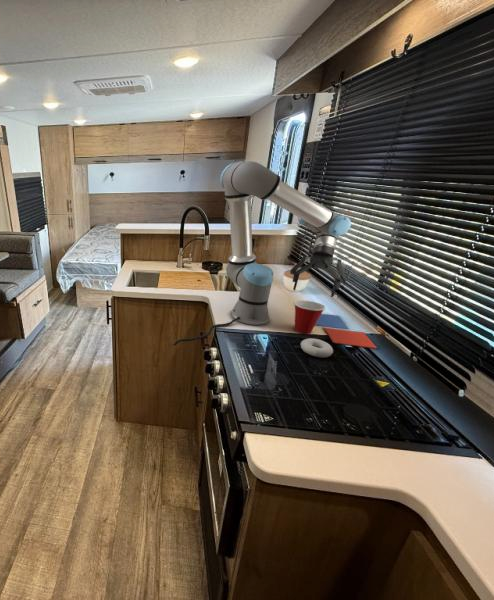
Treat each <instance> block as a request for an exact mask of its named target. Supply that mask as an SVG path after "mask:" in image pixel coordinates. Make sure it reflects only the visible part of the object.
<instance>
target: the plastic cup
mask: <svg viewBox="0 0 494 600" xmlns="http://www.w3.org/2000/svg"><path fill="white" fill-rule="evenodd" d="M293 305H294V330H295V331H296V332H297V333H299V334H301V335H309V334H311V333H312V331H313V329H314V328H315V326H316V325H315V324H316V322H317V320H318V318H319V316H320V315H321V314H323V312H324V311H325V310H326V306H325V305H324V304H323V303H319V302H316V301H312V300H303V299H302V300H294V302H293Z"/></svg>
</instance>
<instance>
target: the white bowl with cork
mask: <svg viewBox="0 0 494 600" xmlns="http://www.w3.org/2000/svg"><path fill="white" fill-rule="evenodd" d="M290 270H291V269H288V270H285V271H284V272H283V278H282V284H283V286H284V287H285V289H286V290H287V291H289V292H294V293H299V292H302V291H303V290H304V289H306V288H307V287H308V285H309V283H310V280H311V278H312V274H311V273H309V272H306V271H305V272H303V273H301V274H300V275H299V278H298V282H297V285H296V289H295V290H293V288H294V284H295V282H293V277H294V275H293V274H290ZM297 270H298V269H297ZM297 270H296V271H297Z"/></svg>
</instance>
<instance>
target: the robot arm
mask: <svg viewBox="0 0 494 600" xmlns="http://www.w3.org/2000/svg"><path fill="white" fill-rule="evenodd" d="M219 180H220V185H221V187H222V189H223V190H224V200H225V201H227V202H228V204H229V205H228V206H229V224H230V225H229V227H230V244H231V245H230V247H231V255H230V256H229V257H228V262H227V264H226V267H225V274H226V275H227V278H228V279H229V280H230V281H231V282H232V283H234V284H235V285H236V286H237V287H238V288H239V294H238V299H237V301H236V303H235V304H234V306H233V308H232V310H231V318H233V319H232V320H231V321H229V322H226V323H218V324H214V325H212V326H210V327H209V329H208V332H207V333H205V334H203V335H199V336H195V337H191V338H179V339H177V340H175V342H174V343H173V344H172V345H173V346H177V345H178V344H179V343H180V342H181V343H182V342H192V341H196V340H197V341H198V340H201V339H204V338H206V337H208V336H210V335H211V333H212V330H213V329H215V328H220V327H227V326H230V325H232V324H233V323H235V322H238V323H239V322H240V323H241V324H245V325H248V326H249V325H250V326H264V325H266V324H268V322H269V320H270V314H269V307H268V303H269V298H270V293H271V290H272V285H273V283H274V282H273V281H274V271H273V269H272V268H271V267H269V266H267V265H264V264H262V263H257V255H256V254H254V252H253V229H252V228H253V226H252V224H253V223H252V198H253V197H256V198H257V199H260V200H262V201H266V200H267V201H270V202H271V203H273V204H274V205H276V206H278V207H280V208H282V209H283V210H285V211H287V212H289V213H291V214H292V215H294V216H295V217H297V218H296V219H297V222H299V223H300V224H301V225H302V226H304V227H306V228H307V229H309V230H310V231H311V232H313V233H315V234H316V238H315V242H314V247H313V252H312V254H311V256H307V254H303V256H302V258H301V260H299V262H297V263H296V264H295V265H294V266H293V267H292V268H291V269H289V270H290V274H293V275H294V277H293V282H295V284H294V288H293V290H295V289H296V285H297V282H298V278H299V275H300V274H301V273H303V272H306V271H309V270H311V269H312V268H314V269H320V270H326V271H327V272H328V274H329V275H330V276H331V277H332V278H333V280H334V282H333V285H332V289H331V293H330V297H331V298H333V297H334V296H335V293H336V290H339V289H340V286H341V283H344V284H345V283H346V282H347V280H348V278H347V275H346V273H345V271H344V268H343V266H342V260H341V259H337V260H334V259H333V258H334V253H335V250H336V246H337V243H338V237H340V236H343V235H345V234H347V233H348V231H349V230H350V229H351V226H352V222H351V219H350V218H349V217H347V216H345V215H340V214H338V213H336V212H334V210H333V211H332V210H331V209H329V208H328V207H326V206H324V205H322V204H321V203H319V202H318V201H316V200H315V199H312V198H311V197H309V196H308V195H306V194H304V193H303V192H301V191H299V190H297V189H296V188H294V187H293V186H290V185H289V184H287V183H286V182H284V181H283V180H282V178H281V176H280V175H278V174H277V173H275V172H274V171H272V170H270V169H269V168H267V167H266V166H264V165H263V164H261V163H259V162H257V161H254V160H253V161H252V160H249V161H243V160H240V161H235V162H232V163H230V164H228V165H226V167H225V168H224V169H223V170H222V172H221V174H220V179H219ZM308 261H309V262H308ZM307 262H308V263H307ZM305 263H306V265H304V264H305ZM332 265H334V266H335V267H336V270H337V271H336V270H335V269H334V268H333V266H332ZM296 270H297V271H296Z"/></svg>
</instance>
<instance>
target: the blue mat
mask: <svg viewBox="0 0 494 600" xmlns="http://www.w3.org/2000/svg"><path fill="white" fill-rule="evenodd" d="M315 326H321V327H326V328H334V329H342V330H349V327H348V326H347V325H346V323H345V322H344V321H343V320H342V318H341V317H340V316H339V315H333V314H324V313H321V315H320V316H319V318H318V320H317V322H316V324H315Z"/></svg>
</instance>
